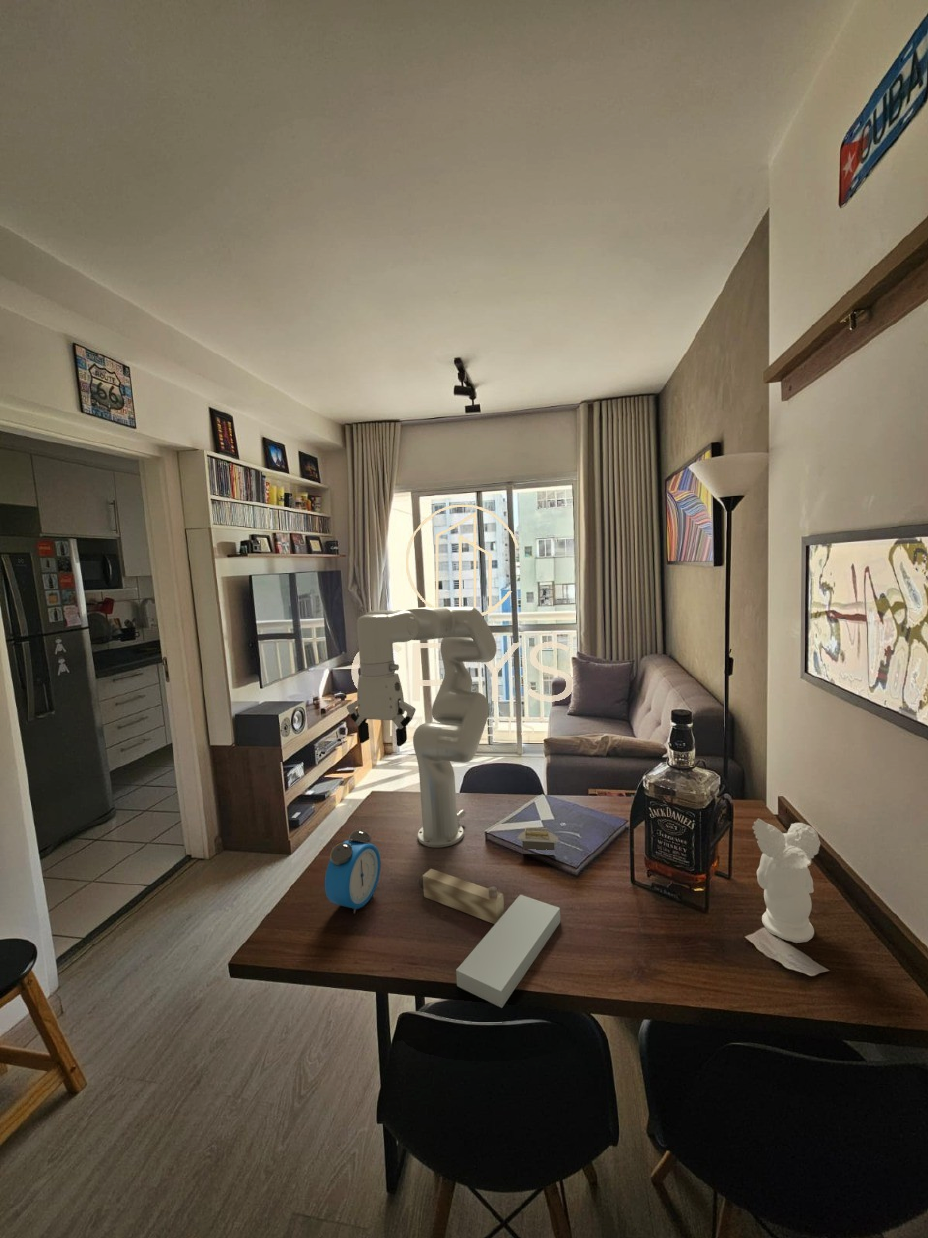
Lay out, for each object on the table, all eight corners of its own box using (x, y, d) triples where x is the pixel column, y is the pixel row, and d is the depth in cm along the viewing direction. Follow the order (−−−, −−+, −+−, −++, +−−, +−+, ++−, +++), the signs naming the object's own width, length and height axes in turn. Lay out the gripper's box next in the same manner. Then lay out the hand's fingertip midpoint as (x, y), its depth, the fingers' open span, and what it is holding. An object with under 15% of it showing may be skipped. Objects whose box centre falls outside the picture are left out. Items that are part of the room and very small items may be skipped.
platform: (506, 840, 139) (505, 817, 138) (575, 844, 135) (574, 820, 134) (500, 865, 127) (499, 840, 127) (575, 870, 123) (574, 844, 123)
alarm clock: (349, 924, 109) (343, 855, 107) (325, 917, 111) (319, 850, 110) (383, 887, 120) (378, 825, 119) (361, 882, 123) (356, 821, 121)
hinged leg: (504, 916, 108) (503, 887, 107) (496, 925, 105) (495, 895, 104) (428, 887, 119) (426, 861, 118) (419, 895, 116) (417, 868, 116)
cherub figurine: (807, 915, 104) (811, 809, 101) (841, 962, 91) (846, 843, 89) (742, 910, 106) (744, 807, 103) (766, 955, 93) (769, 839, 91)
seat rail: (521, 907, 110) (520, 894, 110) (560, 922, 105) (559, 908, 105) (457, 986, 91) (456, 970, 90) (501, 1008, 86) (500, 991, 85)
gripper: (419, 666, 117) (424, 740, 119) (354, 665, 124) (359, 735, 125) (403, 673, 110) (409, 751, 112) (335, 671, 117) (341, 745, 118)
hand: (382, 742), depth 119 cm, fingers open, 9 cm apart
